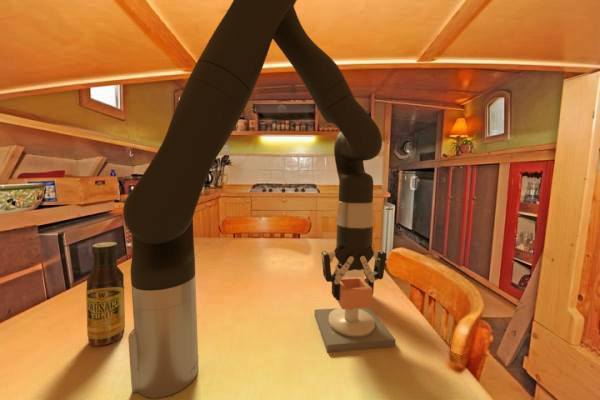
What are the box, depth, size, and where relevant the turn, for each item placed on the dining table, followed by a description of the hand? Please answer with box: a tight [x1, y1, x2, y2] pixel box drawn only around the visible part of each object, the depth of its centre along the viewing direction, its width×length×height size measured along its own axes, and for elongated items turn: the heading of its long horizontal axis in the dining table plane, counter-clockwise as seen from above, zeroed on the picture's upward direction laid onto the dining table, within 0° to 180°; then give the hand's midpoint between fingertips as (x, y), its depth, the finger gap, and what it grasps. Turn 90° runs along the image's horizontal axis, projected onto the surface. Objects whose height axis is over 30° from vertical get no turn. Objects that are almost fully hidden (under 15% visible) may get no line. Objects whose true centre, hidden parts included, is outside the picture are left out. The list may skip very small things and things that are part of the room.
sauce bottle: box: [85, 241, 126, 347], centre depth 53 cm, size 7×6×20 cm
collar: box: [336, 277, 374, 309], centre depth 57 cm, size 6×6×4 cm
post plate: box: [314, 307, 396, 353], centre depth 58 cm, size 14×13×8 cm
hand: (352, 297), depth 57 cm, fingers closed on collar, 6 cm apart
